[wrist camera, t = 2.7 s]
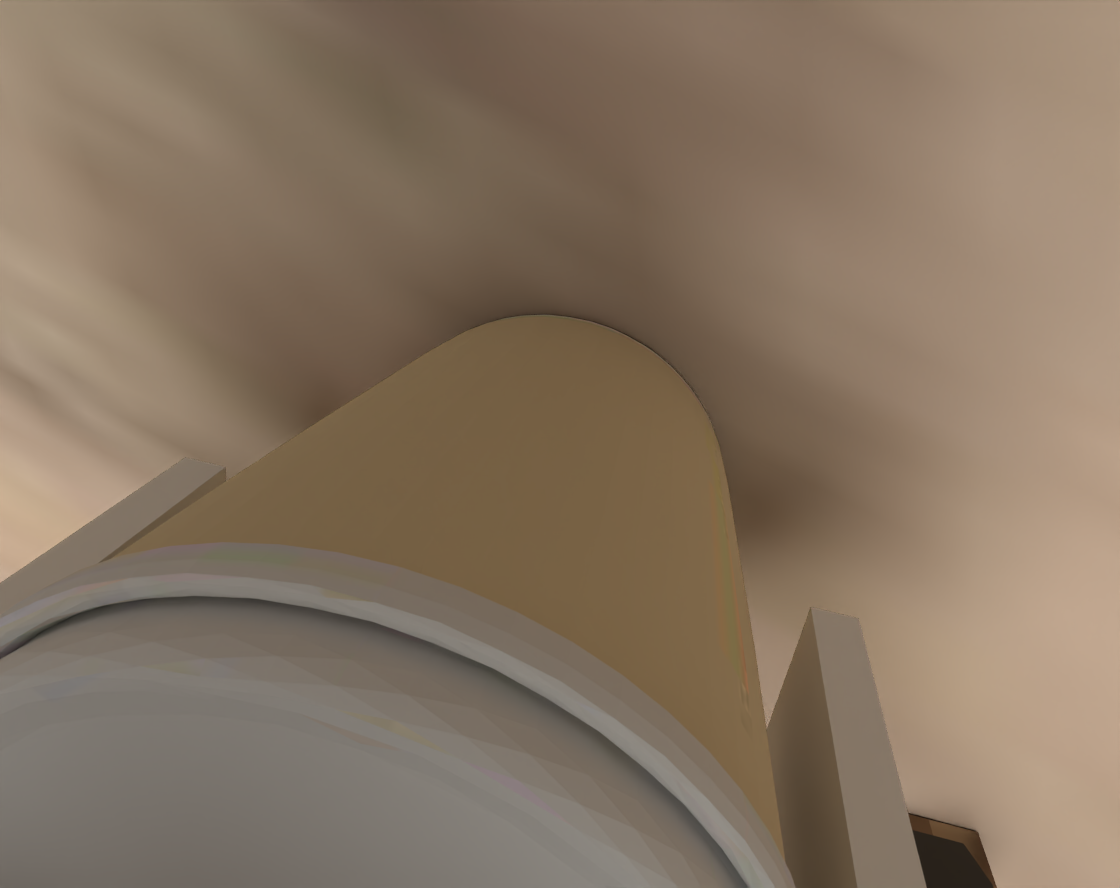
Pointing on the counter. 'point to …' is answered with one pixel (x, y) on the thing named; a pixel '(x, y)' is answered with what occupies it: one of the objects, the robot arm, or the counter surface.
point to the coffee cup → (414, 652)
